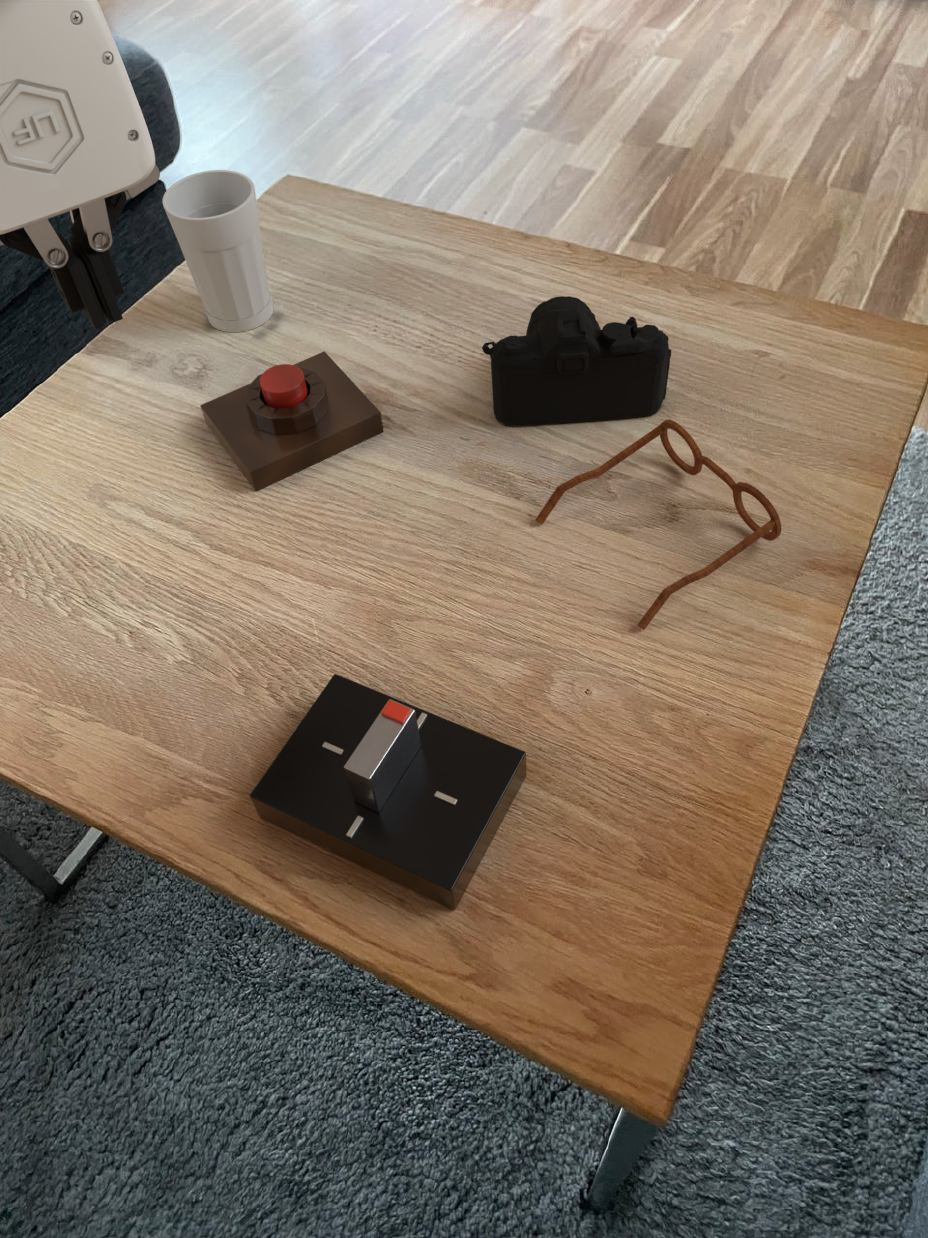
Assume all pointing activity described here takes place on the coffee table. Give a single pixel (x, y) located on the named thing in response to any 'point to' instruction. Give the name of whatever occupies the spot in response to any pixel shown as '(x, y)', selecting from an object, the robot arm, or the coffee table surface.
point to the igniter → (292, 423)
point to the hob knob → (383, 755)
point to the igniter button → (283, 386)
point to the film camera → (577, 368)
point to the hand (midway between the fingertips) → (100, 311)
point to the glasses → (698, 462)
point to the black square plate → (393, 794)
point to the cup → (222, 246)
